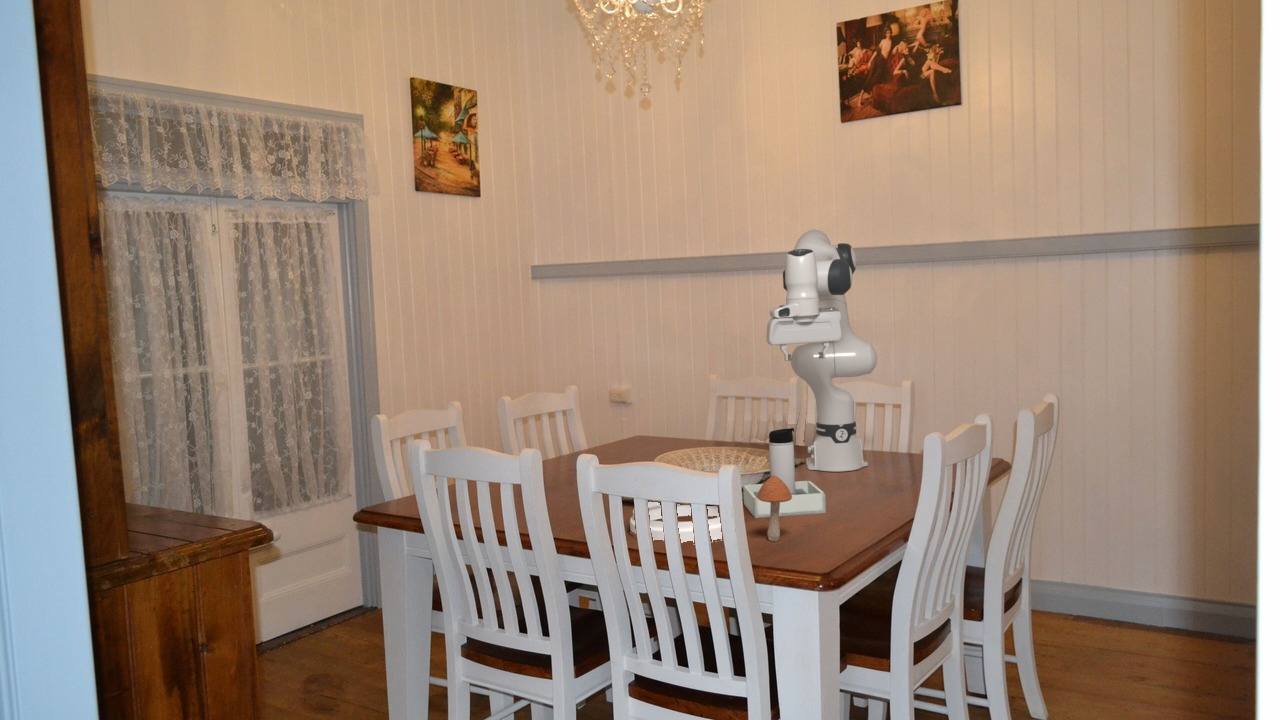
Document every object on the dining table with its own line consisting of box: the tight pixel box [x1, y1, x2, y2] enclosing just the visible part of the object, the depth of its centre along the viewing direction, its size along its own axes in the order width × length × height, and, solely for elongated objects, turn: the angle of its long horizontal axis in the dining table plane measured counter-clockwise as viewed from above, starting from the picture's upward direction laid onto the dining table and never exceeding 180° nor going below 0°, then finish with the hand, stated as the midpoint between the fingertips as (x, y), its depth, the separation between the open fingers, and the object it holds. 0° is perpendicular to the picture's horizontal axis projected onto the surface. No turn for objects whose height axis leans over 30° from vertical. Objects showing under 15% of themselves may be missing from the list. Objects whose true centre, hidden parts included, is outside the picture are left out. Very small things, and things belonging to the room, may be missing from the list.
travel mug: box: [768, 427, 796, 495], centre depth 244 cm, size 6×7×20 cm
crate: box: [742, 480, 827, 519], centre depth 245 cm, size 16×18×5 cm
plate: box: [629, 501, 723, 543], centre depth 229 cm, size 27×27×6 cm
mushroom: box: [757, 475, 792, 542], centre depth 215 cm, size 8×8×15 cm
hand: (805, 359), depth 258 cm, fingers open, 8 cm apart
